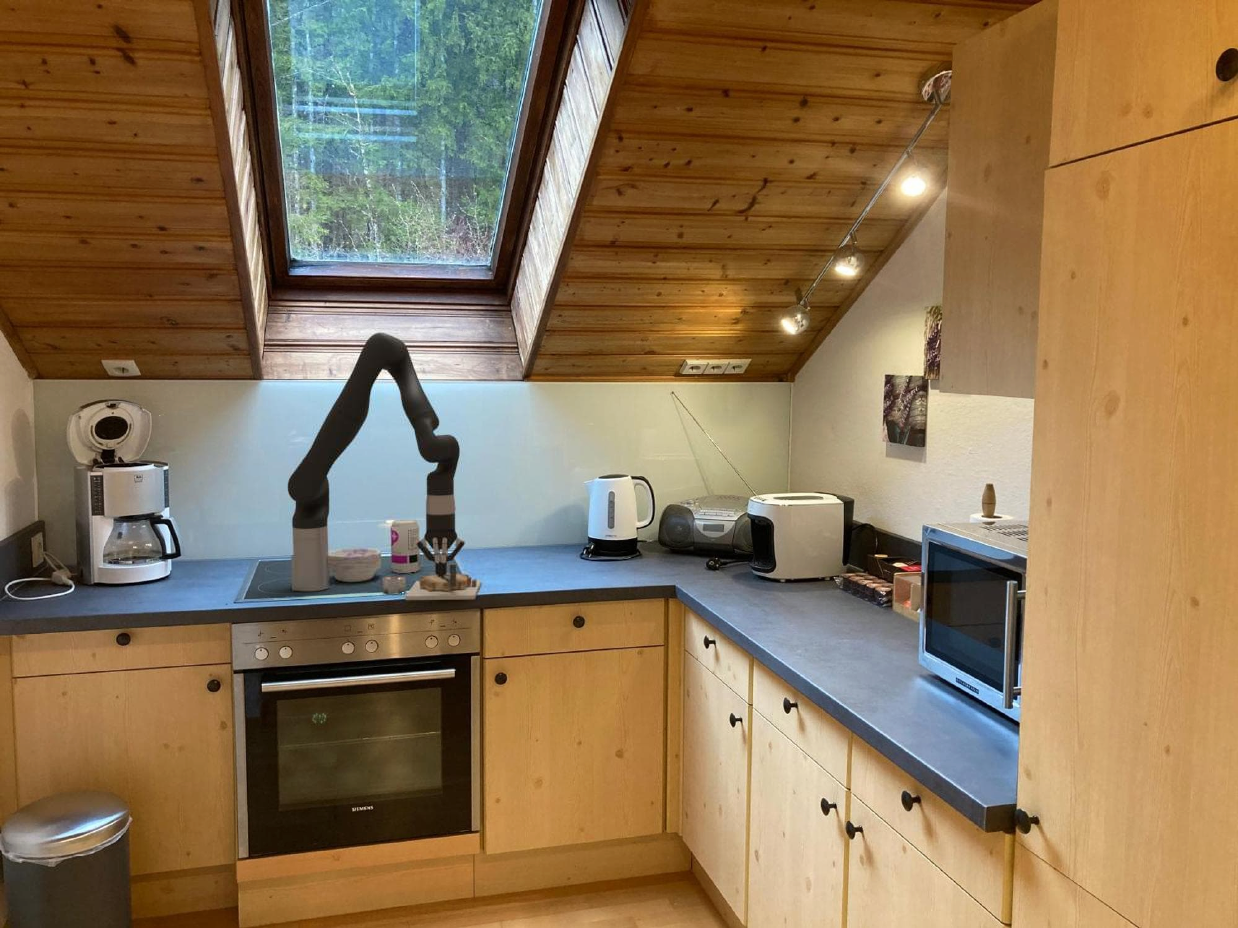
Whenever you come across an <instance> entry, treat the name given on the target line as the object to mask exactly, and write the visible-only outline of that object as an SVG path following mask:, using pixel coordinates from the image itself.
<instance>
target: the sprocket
mask: <svg viewBox="0 0 1238 928" xmlns="http://www.w3.org/2000/svg"><path fill="white" fill-rule="evenodd" d="M471 580H472V577H471V576H469V574H465V573H463V574H461V573H457V564H450V565H449V573H446V575H444V577H438V575H436V573H432V574H430V575H427V576H426V575H423V576H421V577H420V579H419V580H418V581H420V588H426V589H427V590H431V591H433V590H444V591H450V590H453V589H464V588H466V586H471Z"/></svg>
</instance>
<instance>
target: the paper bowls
mask: <svg viewBox="0 0 1238 928" xmlns="http://www.w3.org/2000/svg"><path fill="white" fill-rule="evenodd" d="M328 556H329V573H332V574H333V575H334V578H335V579H336V580H337V581H340V582H344V583H345V582H346V583H358V582H364V581H368V580H371V579H372V578H373V577H374V576H375V574H376V571H378V570H380V569H382V552H381V550H379V549H376V548H375V549H374V548H345V549H344V548H343V549H337V550H331V551H328Z"/></svg>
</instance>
